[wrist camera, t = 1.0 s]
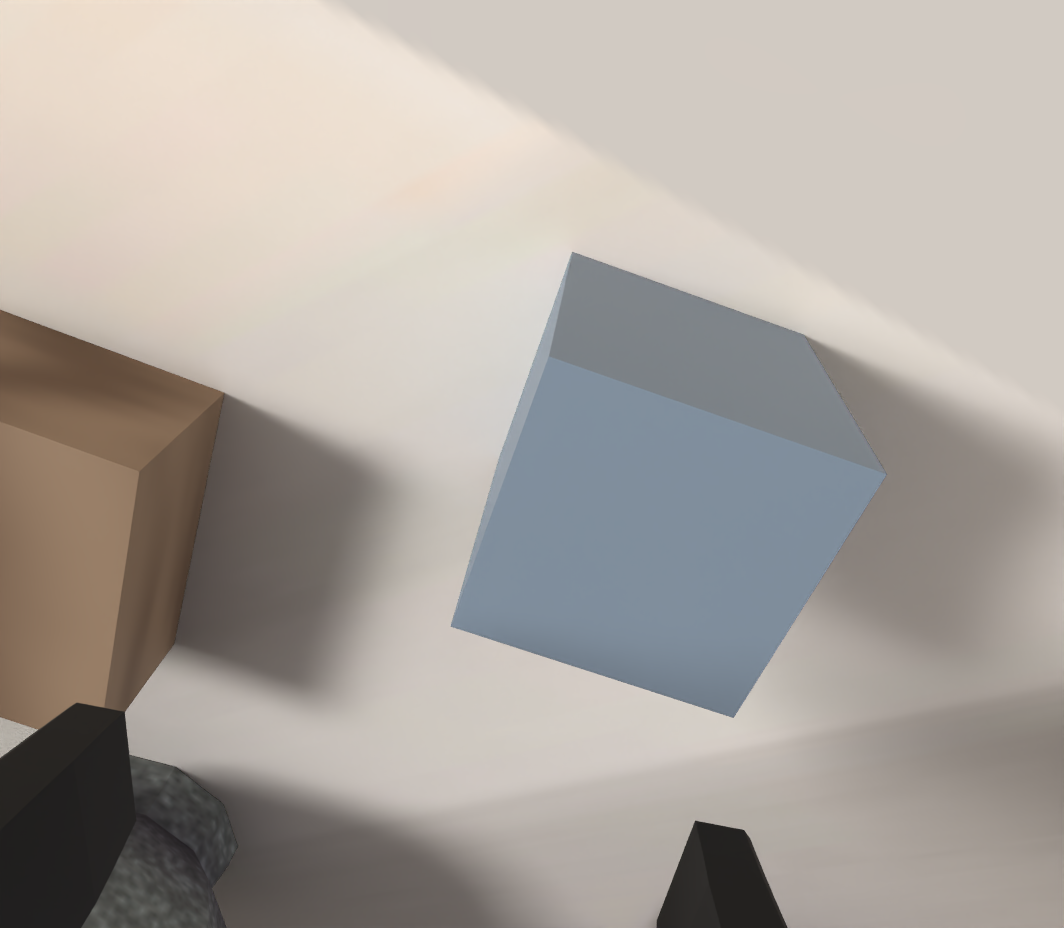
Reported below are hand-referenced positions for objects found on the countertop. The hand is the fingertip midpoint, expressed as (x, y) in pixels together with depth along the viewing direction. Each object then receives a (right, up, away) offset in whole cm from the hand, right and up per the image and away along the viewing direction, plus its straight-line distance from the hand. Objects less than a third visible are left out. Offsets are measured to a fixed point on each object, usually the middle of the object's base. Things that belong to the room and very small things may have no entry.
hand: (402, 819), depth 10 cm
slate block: (+4, +6, +7) cm, 10 cm away
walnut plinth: (-10, +4, +10) cm, 15 cm away
